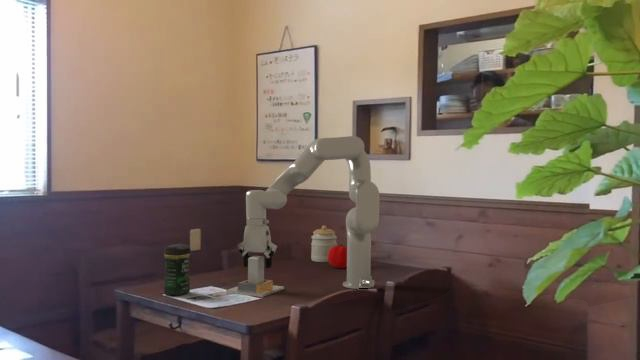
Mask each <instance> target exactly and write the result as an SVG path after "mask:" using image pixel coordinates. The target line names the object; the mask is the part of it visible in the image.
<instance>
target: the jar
mask: <svg viewBox="0 0 640 360" xmlns="http://www.w3.org/2000/svg"><path fill="white" fill-rule="evenodd" d="M312 233H313V235H311V237H310V238H311V243H310V244H311V247H310V248H311V254H310V255H311V256H310V258H311V261H312V262H318V263H329V261H328V254H329V251H330V249H331V248H332V247H334V246H338V242H337V238H338V236H336V231H335V230H333V229H331V228H327V226H326V225H322V226H321V228H319V229H315V230H314V231H313V232H312Z"/></svg>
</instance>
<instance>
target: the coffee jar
mask: <svg viewBox="0 0 640 360" xmlns="http://www.w3.org/2000/svg"><path fill="white" fill-rule="evenodd" d="M190 256H191V247H190V245H189V244H187V243H175V244H170V245H167V246H166V247H165V248H164V259H165V270H164V284H163V294H165V295H167V296H169V295H173V296H183V295H186V294H188V293H190V291H191V283H190V282H191V281H190ZM182 294H183V295H182Z"/></svg>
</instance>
